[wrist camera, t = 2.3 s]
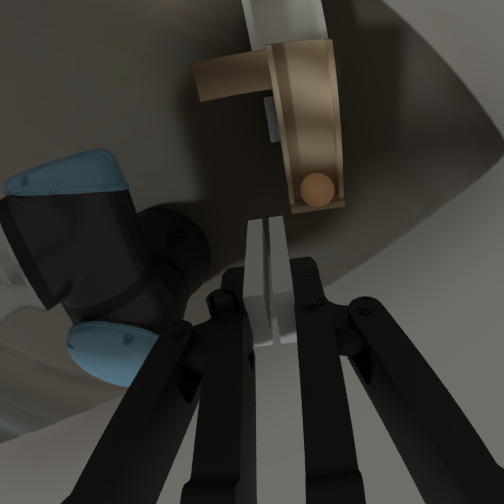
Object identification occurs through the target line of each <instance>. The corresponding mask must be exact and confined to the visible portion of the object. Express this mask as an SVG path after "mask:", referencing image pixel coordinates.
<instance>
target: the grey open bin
mask: <svg viewBox="0 0 504 504" xmlns="http://www.w3.org/2000/svg"><path fill="white" fill-rule="evenodd" d="M242 5H243V10H244V15H245V19H246V24H247V29H248V34H249V39H250V44H251V49H252V51H257V50H263V49H265V45H264V44H271V43H279V42H288V41H297V40H308V39H322V38H328V34H327V29H326V24H325V18H324V13H323V9H322V4H321V0H242Z"/></svg>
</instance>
